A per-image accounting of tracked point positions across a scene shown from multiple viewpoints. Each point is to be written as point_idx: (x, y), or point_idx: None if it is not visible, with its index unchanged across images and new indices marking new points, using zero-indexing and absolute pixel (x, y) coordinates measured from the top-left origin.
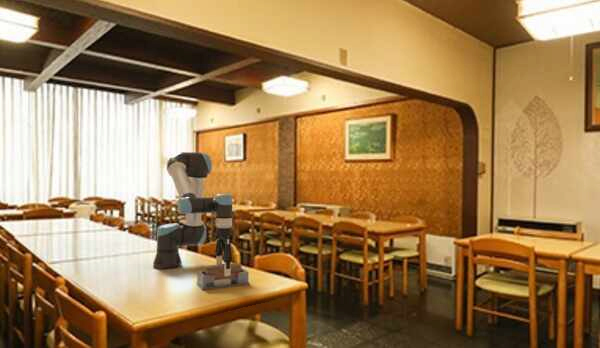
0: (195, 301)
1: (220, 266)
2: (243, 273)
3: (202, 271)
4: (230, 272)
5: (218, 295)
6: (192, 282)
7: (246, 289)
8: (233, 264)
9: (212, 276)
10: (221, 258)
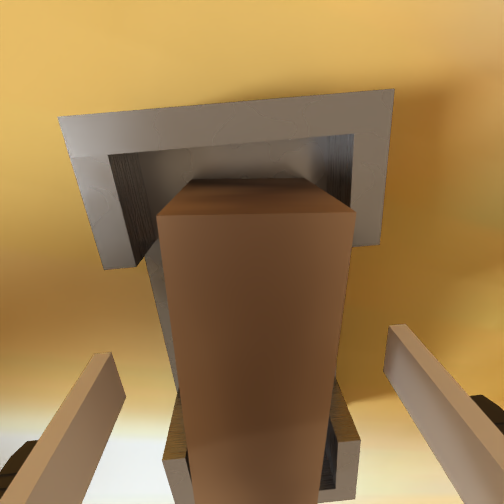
0: None
1: (311, 461)
2: (379, 169)
3: (189, 494)
4: (424, 345)
5: (458, 352)
6: (133, 436)
7: (444, 160)
8: (258, 316)
9: (356, 445)
10: (36, 498)
